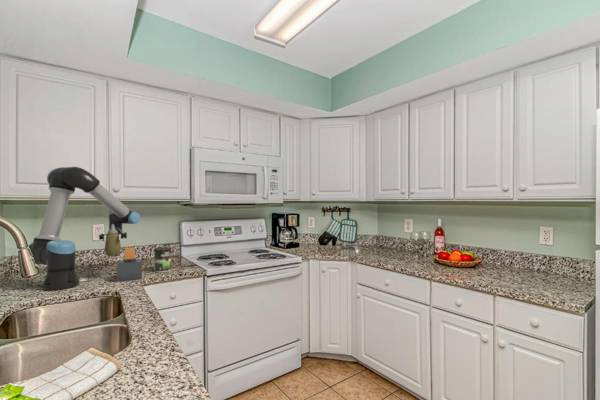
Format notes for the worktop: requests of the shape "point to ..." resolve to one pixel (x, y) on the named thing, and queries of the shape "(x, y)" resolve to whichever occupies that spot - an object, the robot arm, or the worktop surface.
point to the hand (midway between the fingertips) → (112, 238)
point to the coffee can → (162, 259)
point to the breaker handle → (129, 254)
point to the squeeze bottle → (112, 242)
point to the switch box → (129, 270)
